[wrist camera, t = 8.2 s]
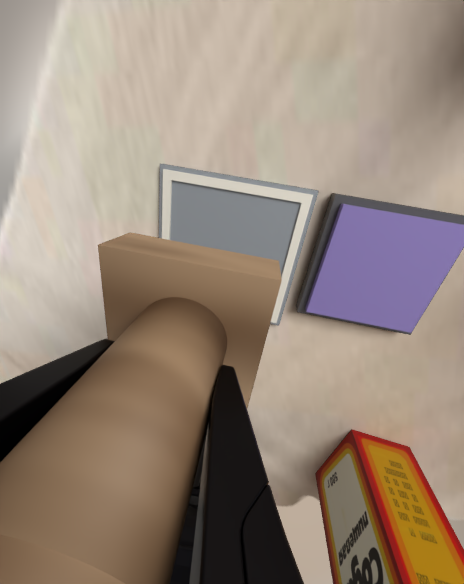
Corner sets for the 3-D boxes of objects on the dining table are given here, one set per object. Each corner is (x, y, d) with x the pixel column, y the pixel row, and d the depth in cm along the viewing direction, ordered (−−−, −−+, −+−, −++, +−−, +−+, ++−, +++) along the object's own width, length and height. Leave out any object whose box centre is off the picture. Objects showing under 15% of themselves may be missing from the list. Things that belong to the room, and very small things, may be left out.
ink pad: (403, 327, 19) (414, 339, 18) (296, 306, 20) (298, 315, 19) (469, 216, 15) (489, 220, 14) (332, 193, 16) (338, 194, 15)
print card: (278, 323, 21) (279, 326, 20) (160, 298, 22) (157, 301, 21) (317, 190, 16) (319, 190, 15) (162, 163, 17) (158, 163, 16)
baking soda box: (364, 488, 30) (454, 775, 15) (315, 473, 30) (359, 745, 15) (409, 446, 25) (590, 789, 11) (351, 429, 25) (458, 748, 11)
